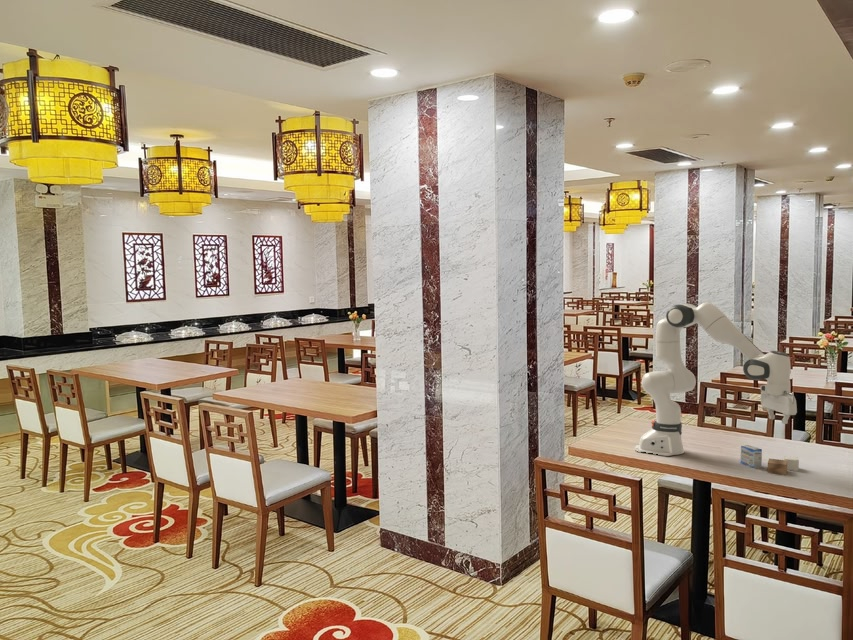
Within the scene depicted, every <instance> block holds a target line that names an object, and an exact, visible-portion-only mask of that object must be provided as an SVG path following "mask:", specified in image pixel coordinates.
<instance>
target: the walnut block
mask: <svg viewBox="0 0 853 640" xmlns="http://www.w3.org/2000/svg"><path fill="white" fill-rule="evenodd" d="M787 473H788V470H787V460H784V459H778V458H777V459H775V458H768V460H767V474H775V475H782V476H786V475H787Z"/></svg>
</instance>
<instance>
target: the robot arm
mask: <svg viewBox="0 0 853 640" xmlns="http://www.w3.org/2000/svg"><path fill="white" fill-rule="evenodd" d="M695 325H699V326H701V328H702V329H703V330H704V331H705V332H706V333H707V334H708V336H710V337H711V338H712V339H713V340H715V342H718V343H721V344H724V345H725V344H726V345H729V346H732V347H734V348H736V349H737V350H738V351H739V352H740V353H741V354H742V355H743V356H744V357H745V358H747V360H746V361H745V363H743V366H742V372H743V373H744V376H745V377H746V378H748V379H749V380H753V381H760V380H766V382H767V383H766V384H762V385H760V389H759V390H760V405H761V406H762V408H763V407H764V408H765V409H766V411H767V413H768V419H769V420H775V419H776V415H775V414H774V411H775V412H779V413H782V416H783V418H782V419H781V424H783V425H787V424H788V423H789V418H790V417H791V416H796V415H797V413H798V408H797V406H798V405H797V400H796V397H795V395H794V393H792V392H791V378H790V377H791V376H790V375H791V373H792V372H791V371H792V370H791V369H792V368H791V358H790V355H789V354H787V353H786V352H783V351H779V350H771V351H769V352H767V353H765V352H763V351H762V350H760V348H759V347H757V346H756V345H755V344H754V342H753V341H751V340H750V339H749V338H748V337H747V336H746V335H744V334H743V333H742V331H741V330H739V328H738V327H737V326H736V325H735V324H734V323H733V322H732V321H731V319H730V318H729V317H728V316H727V315H726V314H725V313H724V312H723V311H721V310H720V309H719V308H718V307H717V306H715V305H714V304H713V303H711V302H707V301H706V302H703V303H701V304H699V305H698V306H697V305H696V304H693V303H686V302H684V303H679V304H678V303H677V304H674V305H672V306H670V307H669V308H668V309H667V311H666V315H665V317H664V318H661V319H659V321H658V322H657V324H656V327H655V338H654V339H655V341H654V342H655V357H656V359H657V360H658V361H659V362H661V363H662V364H664V365H665V366H666V370H654V371H649V372H646V373H645V374H643V375H642V378H641V387H642V389H643V390H644V392H645V393H647V395H649V396H650V397H651V398H652V400H653V402H654V406H655V416H656V418H655V419H656V420H654V419H653V420H652V421H651V428H650V429H649V430H648V431H646V432H645V433H644V434H642V435H641V437H640V440H639V443H637V444H636V445H635V446H634V451H635V450H637V451H640V452H639V453H641V452H646V453H645V454H648V453H653V454H652V455H656V454H658V456H665V457H670V456H676V455H677V456H678V455H682V454H684V453H685V449H684V445H683V439H682V434H683V423H682V417H681V416H682V409H681V405H679V403H678V402H676V401H674V400H672V399H671V396H670V395H671V394H684V393H687V392H691V391H693V390H694V389H695V387H696V385H697V384H696V383H697V379H696V376H695V375H694V373H693V372H692V371H691V370H689V369H688V368H687V367H686V366H685V364H684V362H683V359H682V353H681V331H682V329H687V328H689V327H693V326H695ZM637 451H636V452H637Z"/></svg>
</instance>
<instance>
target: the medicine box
mask: <svg viewBox="0 0 853 640" xmlns="http://www.w3.org/2000/svg"><path fill="white" fill-rule="evenodd" d="M762 458H763V450H762V448H759V447H755V446H752V445H749V444H743V445H741V446H740V464H741V465H744V466H747V467H750V468H752V469H757V468H762V464H763V462H762V461H763V460H762Z"/></svg>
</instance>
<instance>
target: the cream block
mask: <svg viewBox="0 0 853 640" xmlns="http://www.w3.org/2000/svg"><path fill="white" fill-rule="evenodd" d="M798 458H799V457H796V456H787V455H785V456H783V460H787V471H795V472H799V463H800V462H799V461H800V460H799V459H798Z"/></svg>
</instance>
